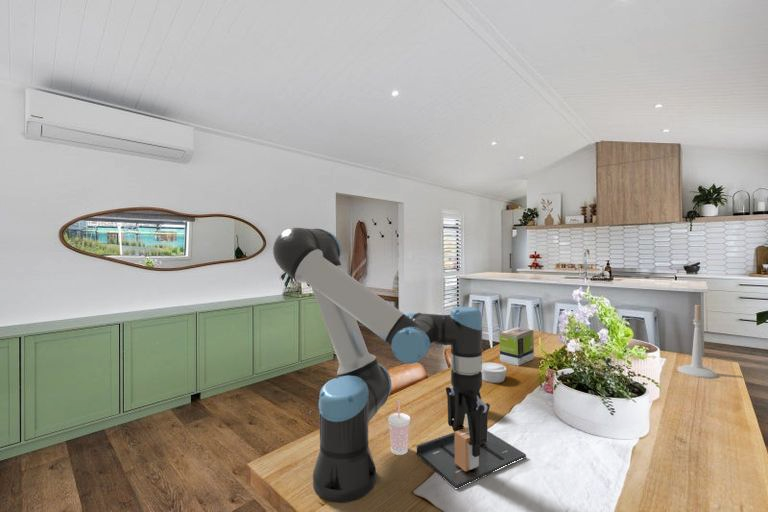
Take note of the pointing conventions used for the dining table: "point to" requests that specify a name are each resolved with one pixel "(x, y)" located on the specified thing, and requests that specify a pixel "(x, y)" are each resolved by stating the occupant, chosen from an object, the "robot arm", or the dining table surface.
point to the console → (443, 461)
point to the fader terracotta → (462, 448)
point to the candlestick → (697, 352)
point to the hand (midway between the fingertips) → (466, 461)
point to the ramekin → (493, 372)
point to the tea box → (516, 345)
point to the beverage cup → (399, 432)
